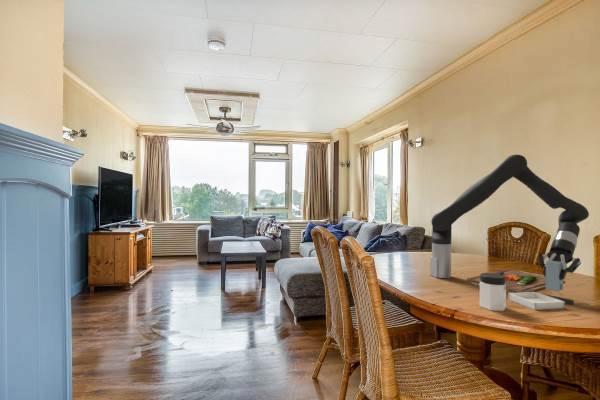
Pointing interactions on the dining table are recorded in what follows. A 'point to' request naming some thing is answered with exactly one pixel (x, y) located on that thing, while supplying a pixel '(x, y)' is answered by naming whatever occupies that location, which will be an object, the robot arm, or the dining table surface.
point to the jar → (492, 291)
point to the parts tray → (536, 300)
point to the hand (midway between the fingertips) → (552, 277)
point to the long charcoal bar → (562, 299)
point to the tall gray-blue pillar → (553, 276)
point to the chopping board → (518, 281)
